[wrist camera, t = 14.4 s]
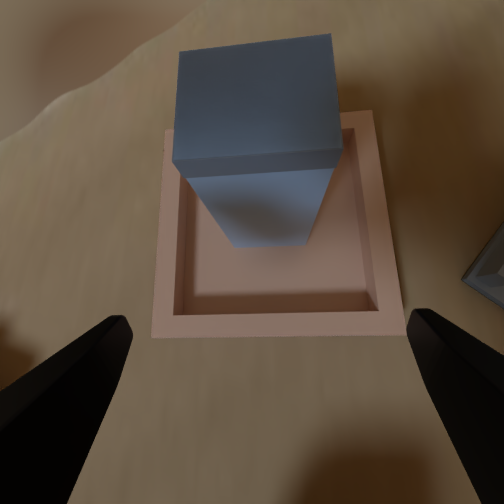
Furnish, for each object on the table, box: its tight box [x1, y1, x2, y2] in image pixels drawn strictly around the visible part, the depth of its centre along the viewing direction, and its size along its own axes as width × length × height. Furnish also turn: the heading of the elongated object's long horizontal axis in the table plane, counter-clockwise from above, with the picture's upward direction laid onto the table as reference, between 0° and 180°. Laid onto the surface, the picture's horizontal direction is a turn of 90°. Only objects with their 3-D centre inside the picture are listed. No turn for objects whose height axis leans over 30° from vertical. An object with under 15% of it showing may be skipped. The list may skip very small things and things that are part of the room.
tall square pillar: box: [172, 34, 344, 248], centre depth 16 cm, size 5×6×13 cm
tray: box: [151, 110, 407, 338], centre depth 21 cm, size 18×18×2 cm
